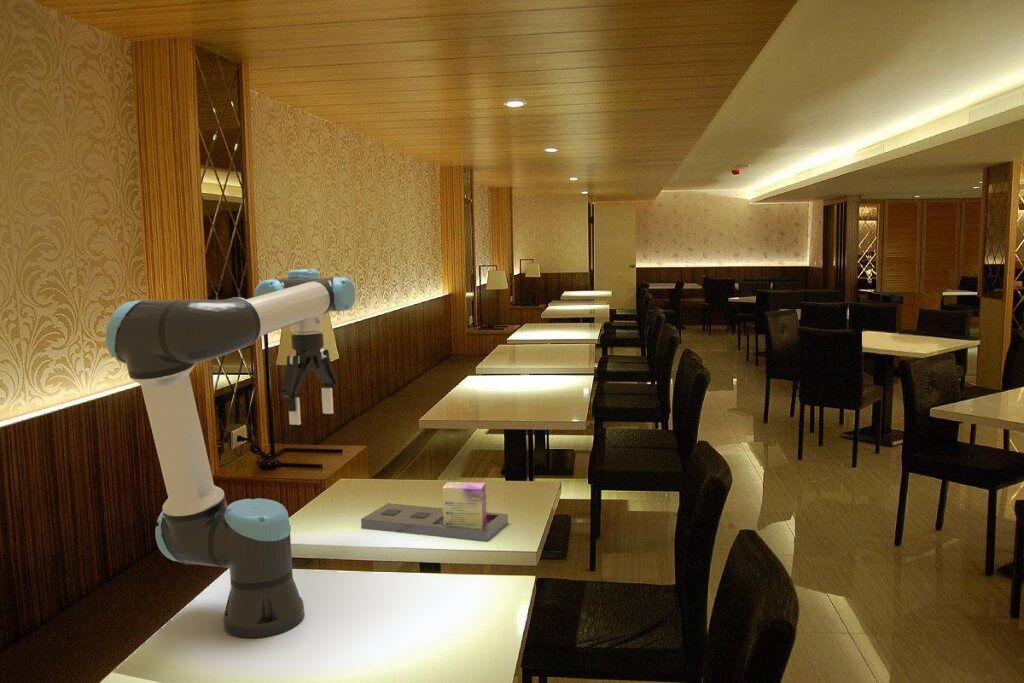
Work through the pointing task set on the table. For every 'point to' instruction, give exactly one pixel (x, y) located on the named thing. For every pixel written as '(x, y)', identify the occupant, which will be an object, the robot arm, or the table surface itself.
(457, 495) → the box
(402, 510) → the plate with rectangular opening
